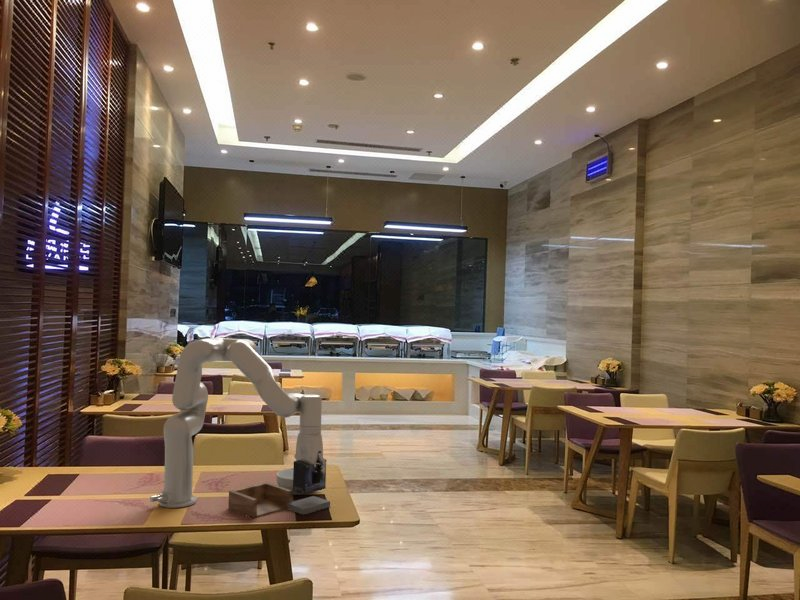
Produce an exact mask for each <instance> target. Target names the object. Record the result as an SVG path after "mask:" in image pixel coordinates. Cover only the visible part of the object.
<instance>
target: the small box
mask: <svg viewBox="0 0 800 600" xmlns="http://www.w3.org/2000/svg"><path fill="white" fill-rule="evenodd" d="M324 460H325V461H326V462H327V459H325V458H324ZM316 463H317V461H316ZM293 468H294V469H293V490H292V491H294V492H298V493H301V494H300V495H308V494H310V493H313V492H317V491H318V492H319V491H320V490H321V491H322V490H325V489H326V488H327V487H326V486H327V485H326V483H327V482H326V481H327V463H326V464H325V466H324V467H323V469H322V471H320V483H317V484H312V472H314V471H313V465H310V464H309V463H307V462H304V461H300V460H297V461H296V460H294V461H293ZM316 468H317V465H316Z"/></svg>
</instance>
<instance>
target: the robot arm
mask: <svg viewBox="0 0 800 600" xmlns="http://www.w3.org/2000/svg"><path fill="white" fill-rule="evenodd" d="M220 361H222V362H231V363H232V364H233V365H234V366H235V367H236V368H237V369H238V370H239V371H240V372H241V373H242V374H243V375H244V376H245V377H246V378H247V379H248V380H249V382H250V383H252V385H253V387H254V388H255V390H256V392H257V394H258V395H259V397H260V399H262V401H263V402H264V403H265V404H266V405H267V407H268V408H270V409H271V410H272V412H274V413H275V415H276V416H278V417H280V418H283V419H285V418H290V417H292V416H293V415H295V414H299V433H298V435H297V438H296V444H295V445H296V447H295V454H294V459H295V461H297V460H300V461H304V462H307V463H309V464H310V465H313V471H314V472H312V484H317V483H320V471H322V469H323V467H324V466H325V464H326V465H327V460H326V461H325V460H324V459H325V458H324V446H323V445H324V443H323V435H322V404H323V403H322V401H323V400H322V396H321V395H319V394H317V393H316V394H313V393H310V394H309V393H308V394H303V393H296V392H286V391H284V390H283V388H281V387H280V385H279V384H278V383H277V381H276V379H275V377H274V372H273V368H272V366H270V365H269V364H268V362H266V361H265V360H264V358H263V357H262V356H261V355H260V354H259V353H258V346H257V344H256V343H255V342H254V341H252V340H251V339H247V338H227V337H225V338H224V337H211V338H209V337H208V338H202V339H198V340H194V341H192V342H190V343H188V344H186V345H185V346H184V347H183V349H182V350H181V352H180V354H179V359H178V363H177V364H178V365H177V371H176V375H175V381H174V386H173V391H172V396H171V397H172V399H171V400H172V401H171V402H172V405H173V406H174V407H175V409H177V410H179V412H178V413H175V414H173V415H171V416H170V417H169V418H168V419H166V420H165V422H164V424H163V440H164V475H163V476H164V480H163V483H164V484H163V490H161V491H160V493H158V495H152V496H150V497H149V501H150V503H154V502H157V503H158V505H159V506H161V507H162V508H169V509H170V508H171V509H173V508H174V509H175V508H176V509H177V508H184V507H188V506H191V505H194V504H196V502H197V496H195V495H194V494H193V485H194V484H193V483H194V481H193V478H194V444H193V439H192V436H194V435H196V434H199V432H200V431H201V430H202V429H203V426H204V422H205V417H206V412H207V407H208V406H207V405H208V400H209V391H208V388H207V387H206V385H205V384H204V383H203V382H201V380H202V376H203V375H202V374H203V364H205V363H212V362H220ZM316 461H317V463H316ZM316 465H317V468H316Z"/></svg>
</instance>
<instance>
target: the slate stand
mask: <svg viewBox="0 0 800 600" xmlns="http://www.w3.org/2000/svg"><path fill="white" fill-rule="evenodd" d="M328 508H331V500H327V499H324V498H321V497H318V496H315V495H312V496H309V497H305V498H301V499H297V500H294V501H293V500H292V502H289V503H287V509H286V510H289V509H290V510H289V511H291V510H292V511H291V512H294V511H295V512H294V513H297V514H300V515H302V514H303V516H304V514H305V515H307V514H311V513H315V512H318V511H321V509H322V510H325V509H328ZM317 510H318V511H317Z"/></svg>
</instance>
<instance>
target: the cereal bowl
mask: <svg viewBox="0 0 800 600" xmlns="http://www.w3.org/2000/svg"><path fill="white" fill-rule="evenodd" d="M293 469H294V467H293V468H285V469H282V470H279V471H278V472H276V483H277V484H276V485H277V486H280V487H283V488H286V489H289V490H293ZM292 495H302V494H301V493H298V492H294V491H292Z"/></svg>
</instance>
